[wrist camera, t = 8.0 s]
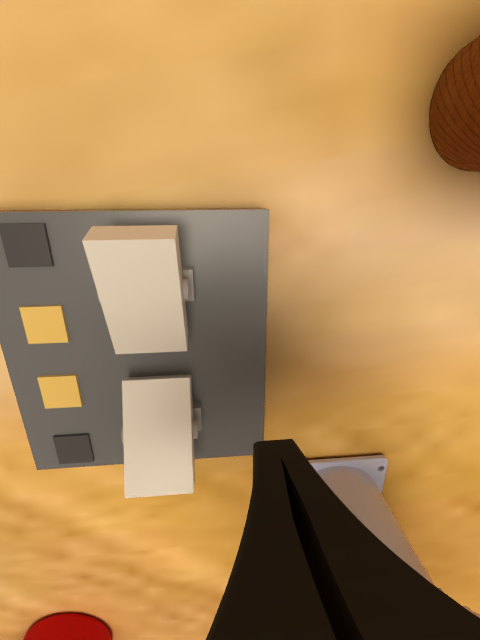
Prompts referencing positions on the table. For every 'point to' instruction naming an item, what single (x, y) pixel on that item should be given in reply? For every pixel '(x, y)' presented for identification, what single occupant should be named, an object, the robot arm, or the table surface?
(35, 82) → the table surface
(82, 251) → the switch unit
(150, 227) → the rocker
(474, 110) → the disposable coffee cup
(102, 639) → the soda can
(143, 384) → the rocker
